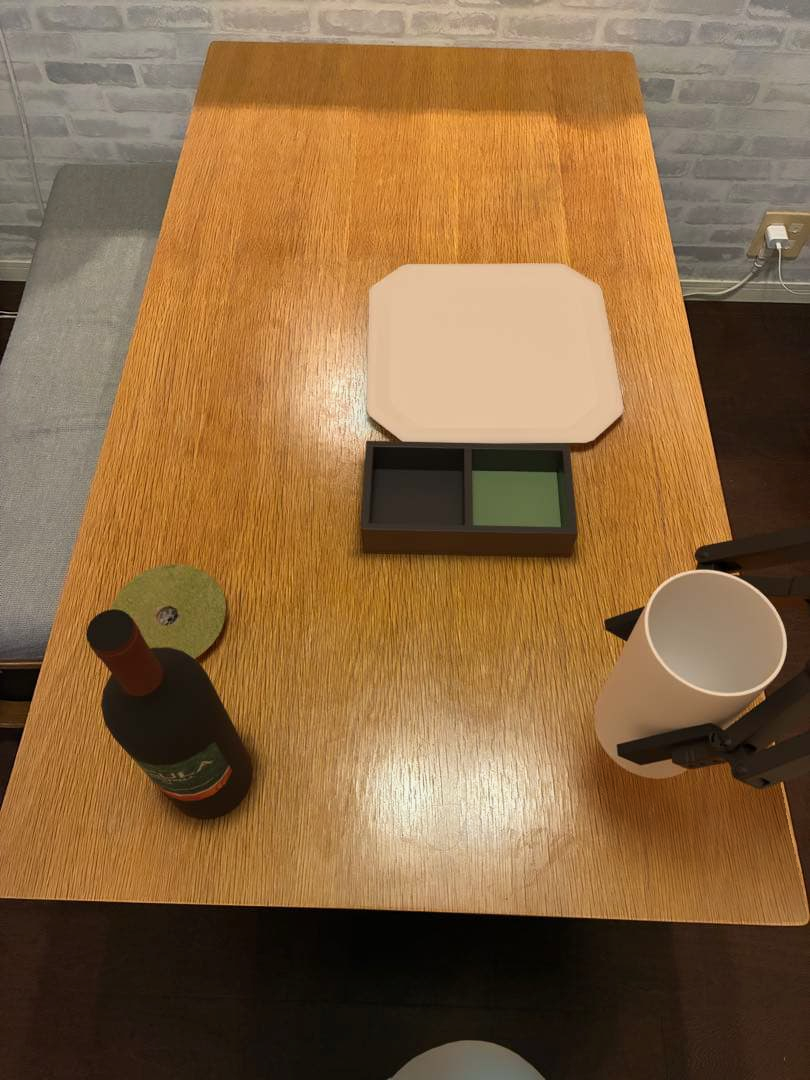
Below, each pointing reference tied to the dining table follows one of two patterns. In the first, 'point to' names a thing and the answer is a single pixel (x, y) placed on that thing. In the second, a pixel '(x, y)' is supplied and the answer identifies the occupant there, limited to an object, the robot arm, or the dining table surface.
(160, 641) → the mat
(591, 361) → the plate
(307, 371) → the dining table surface
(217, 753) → the wine bottle
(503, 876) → the dining table surface
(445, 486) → the holder
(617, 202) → the dining table surface
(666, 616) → the cup
